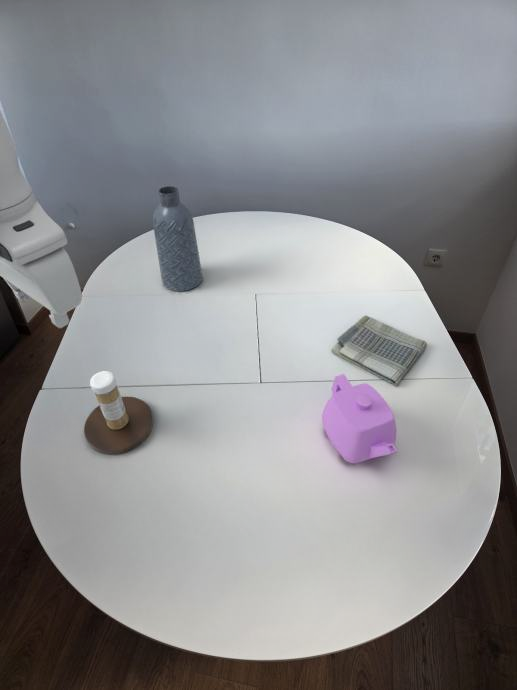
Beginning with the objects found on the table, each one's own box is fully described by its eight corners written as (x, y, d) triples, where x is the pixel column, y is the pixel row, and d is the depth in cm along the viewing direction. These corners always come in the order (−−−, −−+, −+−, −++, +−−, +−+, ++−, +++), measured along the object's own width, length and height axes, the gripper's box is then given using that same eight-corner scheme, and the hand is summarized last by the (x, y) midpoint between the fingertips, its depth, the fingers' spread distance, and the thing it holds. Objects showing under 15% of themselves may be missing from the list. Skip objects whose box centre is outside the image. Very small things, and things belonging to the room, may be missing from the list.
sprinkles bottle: (111, 412, 92) (94, 369, 83) (132, 413, 92) (117, 370, 83) (104, 430, 89) (85, 387, 80) (125, 431, 89) (109, 388, 80)
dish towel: (428, 346, 108) (431, 337, 106) (395, 388, 98) (398, 379, 96) (362, 317, 117) (364, 308, 115) (327, 353, 107) (328, 344, 105)
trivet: (113, 467, 84) (111, 463, 83) (72, 430, 91) (70, 426, 90) (166, 421, 92) (165, 417, 91) (125, 391, 99) (124, 386, 98)
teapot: (306, 413, 93) (310, 373, 85) (356, 396, 97) (365, 356, 88) (354, 493, 80) (365, 455, 71) (410, 470, 83) (427, 431, 74)
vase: (192, 295, 125) (179, 202, 106) (155, 288, 128) (135, 196, 109) (208, 273, 134) (199, 183, 115) (173, 266, 137) (158, 178, 117)
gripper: (-63, 206, 55) (-14, 294, 64) (20, 259, 45) (63, 353, 55) (-14, 189, 58) (25, 275, 68) (73, 235, 49) (104, 327, 58)
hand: (43, 310), depth 61 cm, fingers open, 8 cm apart
